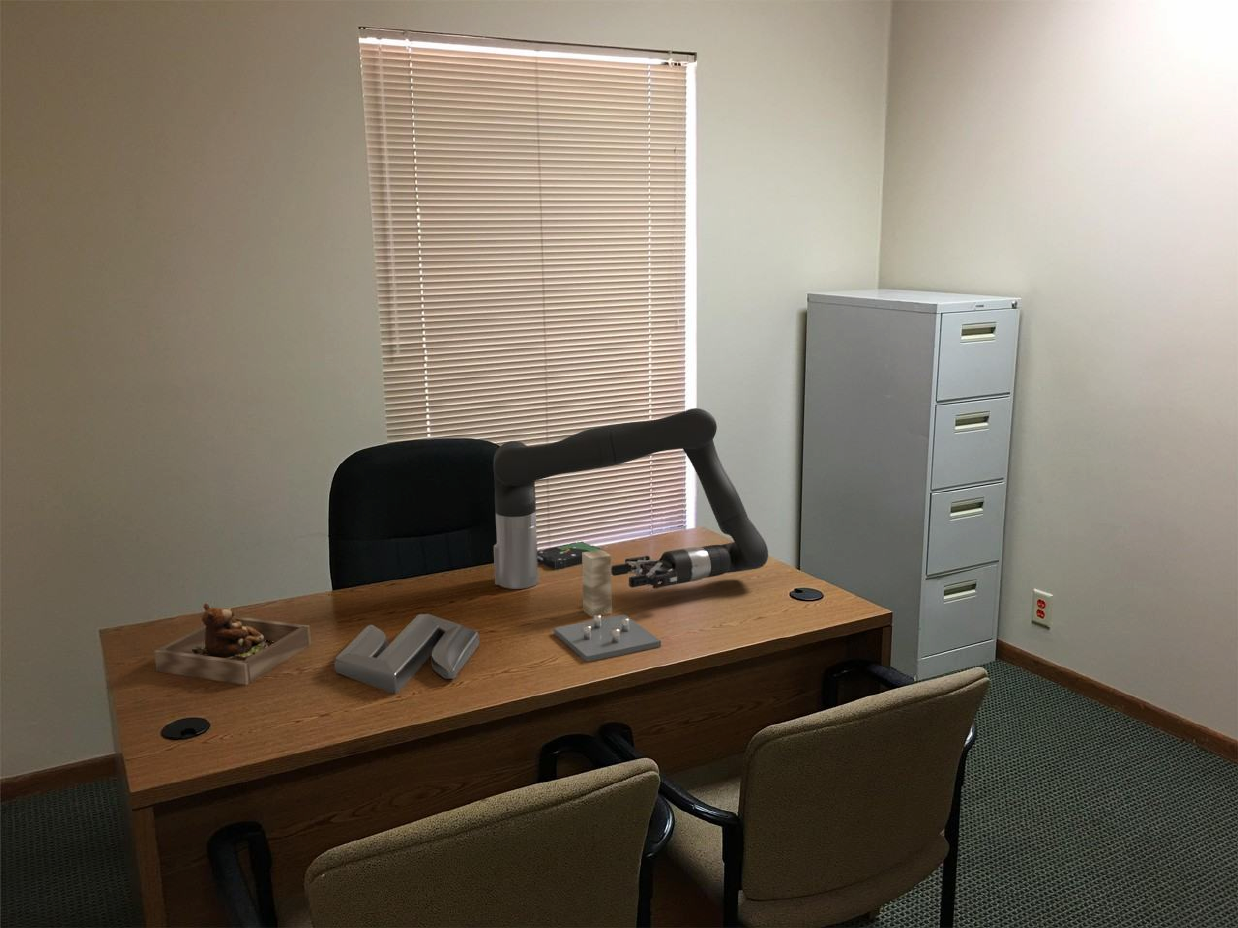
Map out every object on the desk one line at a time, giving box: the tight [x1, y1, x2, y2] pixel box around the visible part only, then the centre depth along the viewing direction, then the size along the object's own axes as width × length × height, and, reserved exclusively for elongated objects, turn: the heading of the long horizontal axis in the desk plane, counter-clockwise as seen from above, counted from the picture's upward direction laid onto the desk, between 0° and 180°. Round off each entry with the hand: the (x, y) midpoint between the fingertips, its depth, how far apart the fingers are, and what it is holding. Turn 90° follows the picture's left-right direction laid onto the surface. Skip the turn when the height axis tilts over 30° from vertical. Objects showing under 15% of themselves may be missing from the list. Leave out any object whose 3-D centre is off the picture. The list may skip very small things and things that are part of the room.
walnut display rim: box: [153, 615, 312, 686], centre depth 193 cm, size 20×19×4 cm
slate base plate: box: [553, 614, 662, 663], centre depth 199 cm, size 16×16×4 cm
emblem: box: [334, 613, 480, 695], centre depth 190 cm, size 28×5×28 cm
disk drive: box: [537, 541, 605, 571], centre depth 249 cm, size 10×3×15 cm
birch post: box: [581, 549, 613, 618], centre depth 213 cm, size 5×5×13 cm
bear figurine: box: [192, 603, 269, 661], centre depth 192 cm, size 14×15×12 cm
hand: (620, 576), depth 215 cm, fingers open, 8 cm apart
